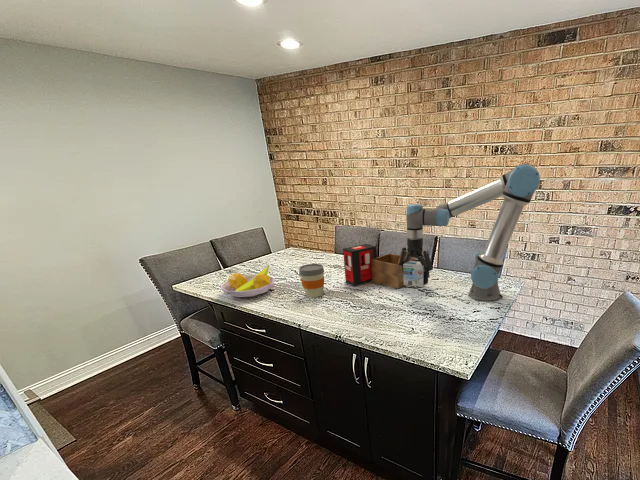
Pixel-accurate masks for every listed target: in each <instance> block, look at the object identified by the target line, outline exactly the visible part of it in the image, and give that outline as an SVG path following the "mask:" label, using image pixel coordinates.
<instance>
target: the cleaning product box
mask: <svg viewBox="0 0 640 480" xmlns="http://www.w3.org/2000/svg"><path fill="white" fill-rule="evenodd" d="M342 253H343V255H342V256H343V266H344V278H345V283H346V284H348V285H350V286H353V287H356V286H357V287H358V286H360V285H364V284H367V283H370V282H372V265H371V260H372V259H375V258H377V246H376V245H374V244H369V243H364V244H363V243H362V244H359V245H354V246H349V247H345V248H342Z"/></svg>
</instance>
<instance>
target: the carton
mask: <svg viewBox="0 0 640 480" xmlns="http://www.w3.org/2000/svg"><path fill="white" fill-rule="evenodd" d="M399 257H400V255H399V254H394V253H387V254H383V255H380V256H378V257H377V258H375V259H372V260H371V265H372V281H371V282H372V283H374V284H378V285H382V286H386V287H388V288H389V287H390V288H393V289H397V290H399V289H401V288H403V287H405V286H406V285H404V274H403V272H402V266H401V265H399V264H398V260H399ZM409 261H415V258H412V259H410V260H409Z"/></svg>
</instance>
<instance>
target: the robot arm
mask: <svg viewBox="0 0 640 480" xmlns="http://www.w3.org/2000/svg"><path fill="white" fill-rule="evenodd" d="M540 181H541V175H540V172H539V170H538V168H536V167H535V166H534V165H532V164H528V163H523V164H522V163H521V164H519V165H517V166H515V167H514V168H512V169H511V170H509V171H507V172H506V173H504V174H501V175H500V177H499V178H498V179H496V180H494V181H491V182H489V183H487V184H485V185H482V186H481V187H478V188H476V189H473V190H471V191H469V192H466V193H464V194H462V195H459V196H458V197H455V198H453V199H451V200H449V201H447V202H445V203H441V204H439V205H437V206H436V207H435V208H424V207H423V204H421V203H411V204H407V206H406V212H405V213H406V214H405V216H406V238H407V239H406V246H404V247H402V248H401V250H402V255H401V258H400V261H399V265H401V266H402V272H403V264H405V263H406V262H408V261H409V260H410V259H411V257H415V258H417V259H418V260H419V261H420V263H421V264H422V266H424V270H425V271H424V285H425V284H426V285H427V284H428V283H429V278H430V271H433V270H434V267H433V264H432V261H431V257H430V254H429V249H423V246H424V238H423V237H424V227H447V226H448V225H449V222H450V219H452V218H454V217H456V216H458V215H461V214H463V213H465V212H469V211H471V210H473V209H475V208H477V207H480V206H483V205H485V204H487V203H489V202H491V201H494V200H496V199H499V198H503V201H502V204H501V205H500V208H499V212H498V214H497V216H496V218H495V222H494V224H493V227H492V229H491V232H490V234H489V237H488V239H487V241H486V245H485V246H484V249H483V250H482V251H477V252H476V253H475V263H474V264H473V268H472V270H471V272H470V279H471V282H472V285H471V287H470V289H469V297H470V298H472V299H474V300H477V301H482V302H494V301H497V300H499V299H500V298H501V299H502V298H504V296H503V295H502V294H501V291H500V287H499V274H500V273H501V270H502V267H503V265H504V260H503V256H504V255H505V252H506V250H507V247H508V244H509V242H510V240H511V238H512V235H513V234H514V230H515V228H516V226H517V224H518V222H519V219H520V216H521V215H522V212H523V210H524V208H525V207H526V206H527V205H530V204H531V200H532V198H533V196H534V193H535V192H536V191H537V189H538V188H539V185H540V183H541V182H540ZM407 247H408V248H407ZM407 251H408V252H409V254H408V255H407V258H406V259H405V257H406V254H407ZM420 256H421V257H420ZM404 260H405V261H404ZM426 285H425V286H426Z"/></svg>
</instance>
